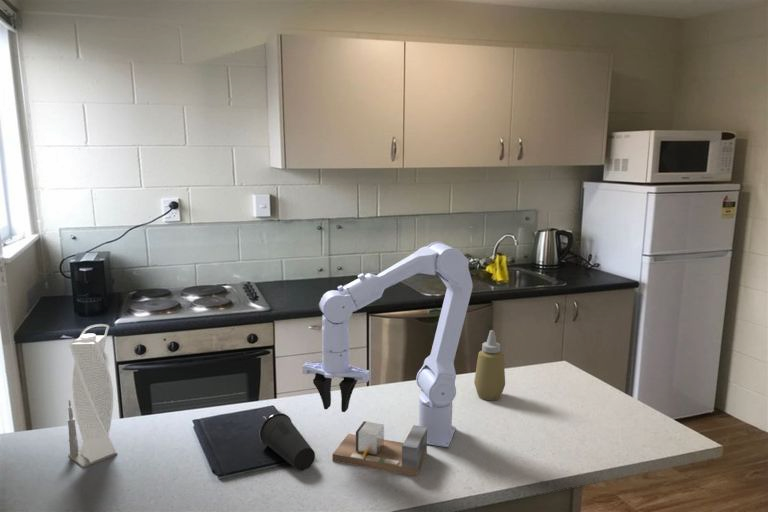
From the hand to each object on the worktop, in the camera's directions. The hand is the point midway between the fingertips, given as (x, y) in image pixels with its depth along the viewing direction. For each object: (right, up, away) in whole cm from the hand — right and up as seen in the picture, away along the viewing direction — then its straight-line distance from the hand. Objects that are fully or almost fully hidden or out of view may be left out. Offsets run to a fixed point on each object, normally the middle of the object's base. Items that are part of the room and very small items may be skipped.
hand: (336, 408), depth 123 cm
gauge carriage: (+7, -8, -2) cm, 11 cm away
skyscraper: (-50, -10, -1) cm, 51 cm away
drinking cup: (-6, -8, -8) cm, 13 cm away
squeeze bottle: (+38, -5, +29) cm, 48 cm away
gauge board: (+9, -10, -1) cm, 14 cm away
